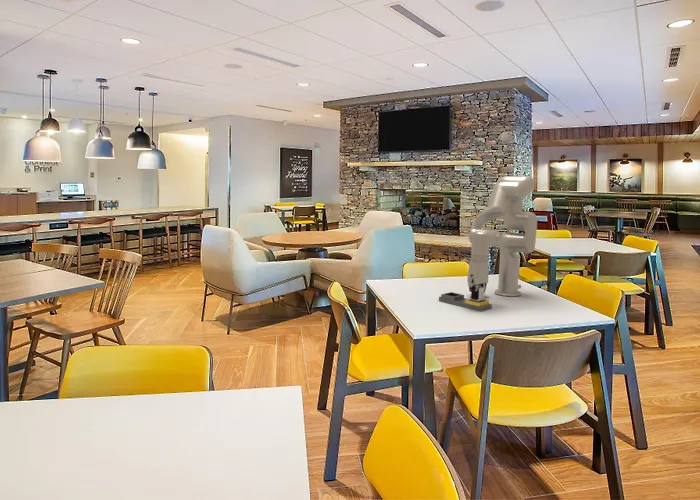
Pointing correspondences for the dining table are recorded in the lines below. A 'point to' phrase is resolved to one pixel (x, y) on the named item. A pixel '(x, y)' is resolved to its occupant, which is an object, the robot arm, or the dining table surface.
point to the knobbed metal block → (479, 294)
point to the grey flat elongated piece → (464, 302)
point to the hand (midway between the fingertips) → (477, 298)
